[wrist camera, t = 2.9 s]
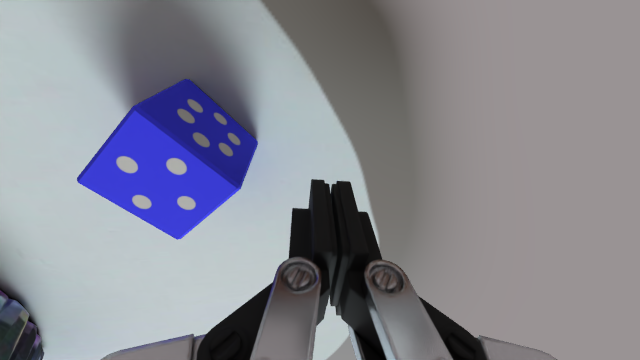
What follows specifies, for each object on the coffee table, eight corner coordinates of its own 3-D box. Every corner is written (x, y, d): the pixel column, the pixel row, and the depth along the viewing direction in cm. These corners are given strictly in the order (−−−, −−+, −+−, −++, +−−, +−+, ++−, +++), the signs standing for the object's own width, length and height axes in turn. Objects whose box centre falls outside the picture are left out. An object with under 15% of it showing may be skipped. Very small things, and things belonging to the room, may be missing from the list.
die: (209, 186, 17) (178, 242, 13) (138, 135, 15) (72, 182, 11) (259, 141, 15) (241, 188, 11) (187, 76, 13) (132, 104, 9)
